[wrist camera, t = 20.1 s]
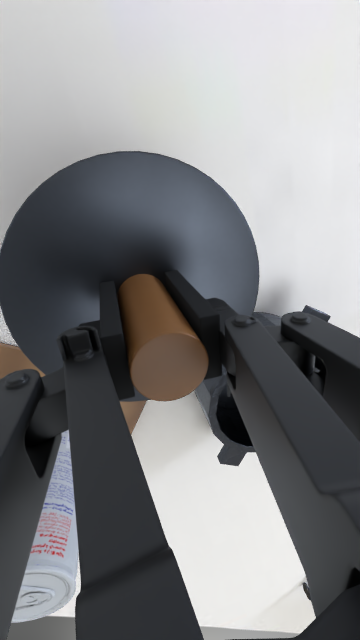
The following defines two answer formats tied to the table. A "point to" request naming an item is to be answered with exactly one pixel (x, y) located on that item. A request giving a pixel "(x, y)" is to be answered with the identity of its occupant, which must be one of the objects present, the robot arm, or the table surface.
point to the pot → (224, 408)
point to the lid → (126, 263)
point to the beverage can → (52, 547)
